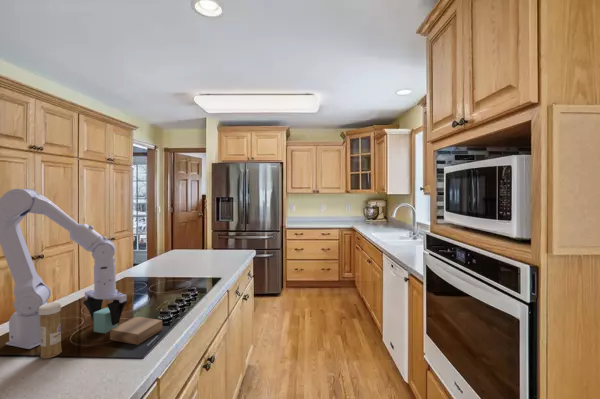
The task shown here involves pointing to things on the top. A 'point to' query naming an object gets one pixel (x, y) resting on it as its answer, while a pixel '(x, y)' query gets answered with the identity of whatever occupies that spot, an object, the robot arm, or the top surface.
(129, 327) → the walnut base
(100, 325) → the teal block
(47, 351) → the sprinkles bottle
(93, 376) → the top surface
